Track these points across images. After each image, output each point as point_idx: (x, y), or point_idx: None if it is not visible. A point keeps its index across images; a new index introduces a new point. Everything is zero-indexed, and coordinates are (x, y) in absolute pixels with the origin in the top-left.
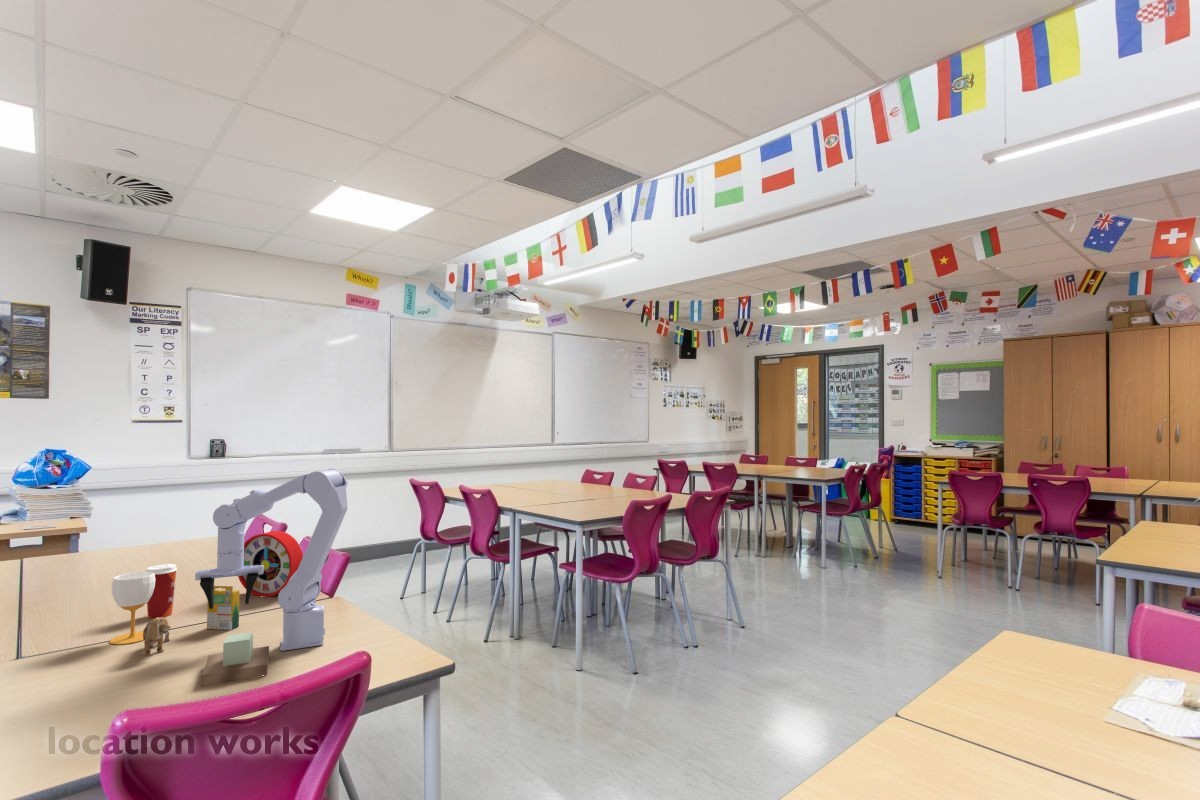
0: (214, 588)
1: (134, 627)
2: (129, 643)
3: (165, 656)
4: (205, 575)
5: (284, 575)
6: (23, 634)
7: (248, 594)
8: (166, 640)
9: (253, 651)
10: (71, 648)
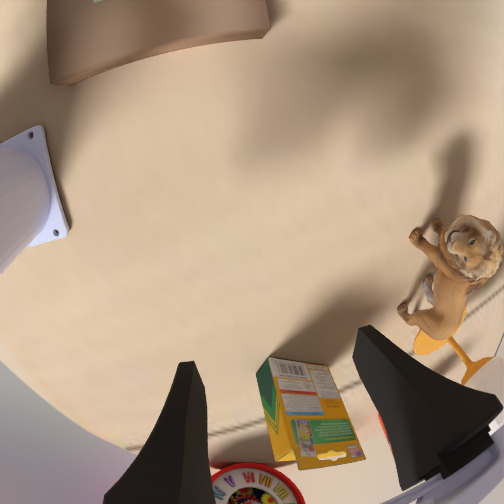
0: (348, 456)
1: (450, 342)
2: None
3: (404, 195)
4: (473, 471)
5: (216, 495)
6: (498, 344)
7: (171, 410)
8: (403, 305)
9: (95, 29)
10: (494, 294)
